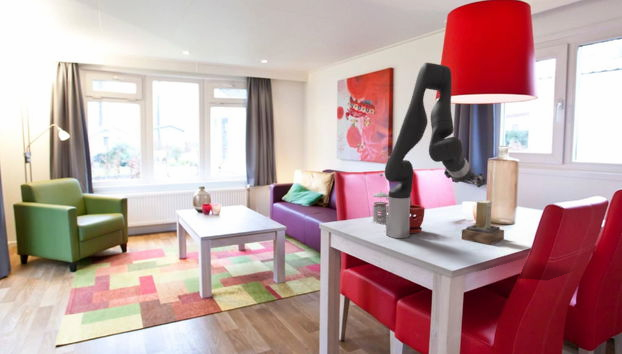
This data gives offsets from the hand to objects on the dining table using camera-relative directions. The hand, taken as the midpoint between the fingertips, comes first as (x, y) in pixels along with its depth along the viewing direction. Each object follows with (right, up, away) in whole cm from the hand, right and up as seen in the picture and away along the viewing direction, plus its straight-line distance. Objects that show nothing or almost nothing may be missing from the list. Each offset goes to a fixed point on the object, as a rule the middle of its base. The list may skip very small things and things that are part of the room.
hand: (468, 182), depth 150 cm
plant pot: (-17, -23, +24) cm, 38 cm away
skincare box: (+10, -20, +9) cm, 24 cm away
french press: (-26, -21, +46) cm, 57 cm away
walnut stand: (+10, -24, +10) cm, 28 cm away
